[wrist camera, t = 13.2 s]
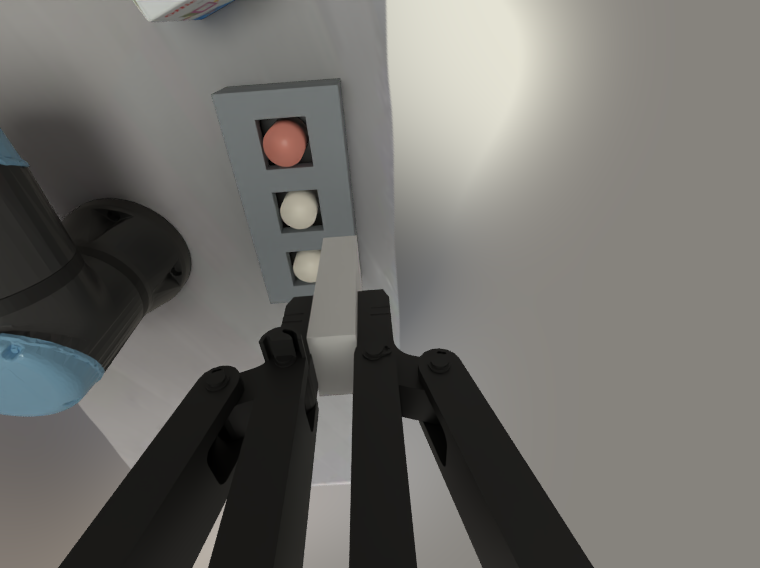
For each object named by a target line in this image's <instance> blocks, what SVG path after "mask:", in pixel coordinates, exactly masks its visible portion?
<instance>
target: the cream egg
mask: <svg viewBox="0 0 760 568" xmlns="http://www.w3.org/2000/svg"><path fill="white" fill-rule="evenodd" d="M318 206H319V197H318V191H317V189H316V190H302V191H289V192H287V193H286V196H285V198H284V201H283V203H282V205H281V209H280V213H281V217H282V219H283V221H284V222H285V223H286V224H287V225H288V226H290V227H292V228H295V229H305V228H308V227H310V226H311V225H312V224H313V223H314V221H315V219H316V215H317V211H318Z"/></svg>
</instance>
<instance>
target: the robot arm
mask: <svg viewBox="0 0 760 568" xmlns="http://www.w3.org/2000/svg"><path fill="white" fill-rule="evenodd" d="M28 167H29V164H28V163H27V162H26V161H25V160H23V159H21V157H20V156H19V154H18V153H17V151H16V150H15V149H14V147H13V146H12V144H11V143H10V141H9V140H8V138H7V137H6V135H5V134H4V132H3V131H2V130H1V128H0V414H3V415H12V416H43V415H50V414H55V413H58V412H61V411H64V410H66V409H69V408H70V407H72V406H74V405H75V404H77V403H78V402H79V401H80V400H81V399H82V398H83V397H84V396H85V395H86V393H87V392H88V391H89V390H90V389H91V387H92V386H93V385H94V384H95V383H96V382H98V381H99V380H100V379H101V378H102V376H103V374H104V373H105V371H106V370H107V368H108V367H109V365H110V364H111V363H112V361H113V360H114V358H115V357H116V355H117V354H118V353H119V351H120V350H121V348H122V347H123V345H124V344H125V342H126V341H127V340H128V338H129V337H130V335H131V334H132V332H133V331H134V330H135V328H136V327H137V325H138V324H139V322H140V321H141V319H142V318H143V317H144V315H146V314H147V313H149V312H151V311H152V310H154V309H156V308H157V307H159V306H161V305H163V304H164V303H166V302H168V301H169V300H171V299H172V298H173V297H175V296H176V295H177V294H178V293H179V291H180V290H181V288H182V287H183V286H184V284H185V283H186V281H187V279H188V277H189V274H190V270H191V259H190V254H189V251H188V248H187V246H186V244H185V242H184V240H183V239H182V237H181V236H180V234H179V233H178V232H177V231H176V229H175V228H174V227H173V226H172V225H171V224H170V223H169V222H168V221H166V220H165V219H164V218H162V217H161V216H160V215H158V214H157V213H155V212H153V211H152V210H150V209H148V208H146V207H144V206H141V205H139V204H136V203H133V202H130V201H126V200H120V199H99V200H94V201H90V202H88V203H85V204H84V205H82V206H80V207H79V208H77V209H76V210H74V211H73V212H71V213H70V214H69V215H68V216H66V217H65V219H64V220H63V221H62V222H61V221H60V220H59V218H58V216H57V215H56V213H55V211H54V210H53V208H52V206H51V205H50V203H49V201H48V200H47V198H46V196H45V195H44V193H43V192H42V190H41V188H40V187H39V185H38V183H37V182H36V180H35V178H34V177H33V175H32V173H31V172H30V170H29V168H28ZM259 344H260V347H261V350H262V353H263V356H264V359H265V363H264V364H262V365H260V366H258V367H256V368H254V369H251V370H247V371H244V372H241V373H239V371H238V370H237V369H236V368H235V367H231V366H219V367H216V368H213V369H211V370H209V371H208V372H206V373H204V374H203V375H202V376H201V377H200V378H199V379H198V381H197V382H196V383H195V385H194V386H193V387H192V389H191V390H190V391H189V393H188V394H187V395H186V397H185V398H184V399H183V401H182V402H181V403H180V405H179V406H178V407H177V409H176V410H175V411H174V413H173V414H172V416H171V417H170V418H169V420H168V421H167V422H166V424H165V425H164V426H163V428H162V429H161V430H160V432H159V433H158V434H157V436H156V437H155V438H154V440H153V441H152V442H151V444H150V445H149V446H148V448H147V449H146V450H145V452H144V453H143V454H142V456H141V457H140V458H139V460H138V461H137V463H136V464H135V465H134V467H133V468H132V469H131V471H130V472H129V473H128V475H127V476H126V477H125V479H124V480H123V481H122V483H121V484H120V485H119V487H118V488H117V489H116V491H115V492H114V493H113V495H112V496H111V497H110V499H109V500H108V502H107V503H106V504H105V506H104V507H103V508H102V510H101V511H100V512H99V514H98V515H97V516H96V518H95V519H94V520H93V522H92V523H91V524H90V526H89V527H88V528H87V530H86V531H85V532H84V534H83V535H82V536H81V538H80V539H79V540H78V542H77V543H76V544H75V546H74V547H73V548H72V550H71V551H70V553H69V554H68V555H67V557H66V558H65V559H64V561H63V562H62V563H61V565H60V566H59V567H58V568H192V567H193V565H194V563H195V561H196V559H197V557H198V555H199V553H200V551H201V549H202V547H203V545H204V543H205V541H206V539H207V537H208V535H209V533H210V531H211V529H212V527H213V525H214V523H215V521H216V519H217V517H218V515H219V513H220V511H221V509H222V507H223V505H224V503H225V501H226V500H227V501H226V505H225V509H224V512H223V516H222V519H221V523H220V527H219V530H218V534H217V538H216V541H215V545H214V548H213V552H212V556H211V559H210V563H209V566H208V568H303V558H304V549H305V539H306V529H307V520H308V510H309V499H310V490H311V481H312V471H313V461H314V451H315V442H316V432H317V422H318V412H319V408H318V402H317V391H318V390H319V395H320V396H329V395H343V394H353V417H352V462H351V508H350V552H349V553H350V554H349V556H350V557H349V568H417V562H416V552H415V542H414V533H413V523H412V513H411V503H410V493H409V484H408V473H407V464H406V455H405V445H404V434H403V424H402V417H405V418H410V419H415V420H419V423H420V425H421V427H422V430H423V432H424V434H425V437H426V439H427V441H428V443H429V446H430V448H431V450H432V453H433V455H434V457H435V460H436V462H437V464H438V466H439V469H440V471H441V473H442V476H443V478H444V480H445V482H446V485H447V487H448V489H449V491H450V494H451V496H452V499H453V501H454V503H455V505H456V508H457V510H458V512H459V515H460V517H461V519H462V521H463V524H464V526H465V529H466V531H467V533H468V535H469V538H470V540H471V542H472V545H473V547H474V549H475V551H476V554H477V556H478V558H479V561H480V563H481V565H482V568H594V567H593V566H592V564H591V563H590V561H589V560H588V558H587V556H586V555H585V553H584V552H583V550H582V549H581V547H580V545H579V544H578V542H577V541H576V539H575V538H574V536H573V535H572V533H571V532H570V530H569V528H568V527H567V525H566V524H565V522H564V521H563V519H562V517H561V516H560V514H559V513H558V511H557V510H556V508H555V507H554V505H553V503H552V502H551V500H550V499H549V497H548V496H547V494H546V493H545V491H544V490H543V488H542V486H541V485H540V483H539V482H538V480H537V479H536V477H535V475H534V474H533V472H532V471H531V469H530V468H529V466H528V464H527V463H526V461H525V460H524V458H523V457H522V455H521V454H520V452H519V451H518V449H517V447H516V446H515V444H514V443H513V441H512V440H511V438H510V436H509V435H508V433H507V432H506V430H505V429H504V427H503V426H502V424H501V423H500V421H499V419H498V418H497V416H496V415H495V413H494V411H493V410H492V408H491V407H490V405H489V404H488V402H487V401H486V399H485V398H484V396H483V394H482V393H481V391H480V390H479V388H478V387H477V385H476V383H475V382H474V380H473V379H472V377H471V376H470V374H469V373H468V371H467V369H466V368H465V366H464V365H463V364H462V362H461V360H460V359H459V357H457V355H455V353H453V352H451V351H449V350H445V349H440V348H439V349H431V350H429V351H426V352H424V353H423V355H421V356H420V357H417V356H412V355H408V354H405V353H403V352H402V351H400V350H399V349H398V348H397V347H396V346H395V344H394V341H393V332H392V323H391V313H390V304H389V296H388V295H387V294H386V293H385V291H384V290H383V289H380V290H367V291H362V280H361V271H360V262H359V252H358V243H357V235H355V236H341V237H328V238H323V243H322V249H321V254H320V260H319V266H318V272H317V278H316V284H315V290H314V295H312V296H299V297H293V298H292V300H291V301H290V302H289V303H288V304H287V305H286V309H285V313H284V317H283V321H282V325H281V327H277V328H274V329H272V330H270V331H268V332H267V333H265V334H264V335H263V336H262V337H261V339H260V341H259Z"/></svg>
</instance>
